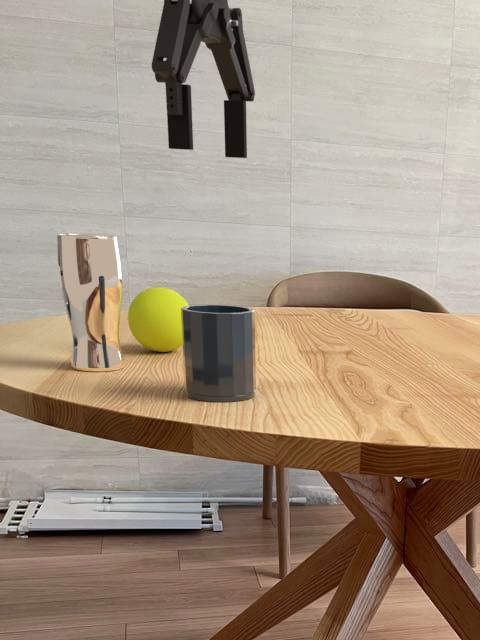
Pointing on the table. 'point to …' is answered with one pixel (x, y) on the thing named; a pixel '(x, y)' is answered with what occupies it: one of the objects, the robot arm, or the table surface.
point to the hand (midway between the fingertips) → (210, 154)
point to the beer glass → (92, 298)
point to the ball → (157, 319)
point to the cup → (219, 352)
